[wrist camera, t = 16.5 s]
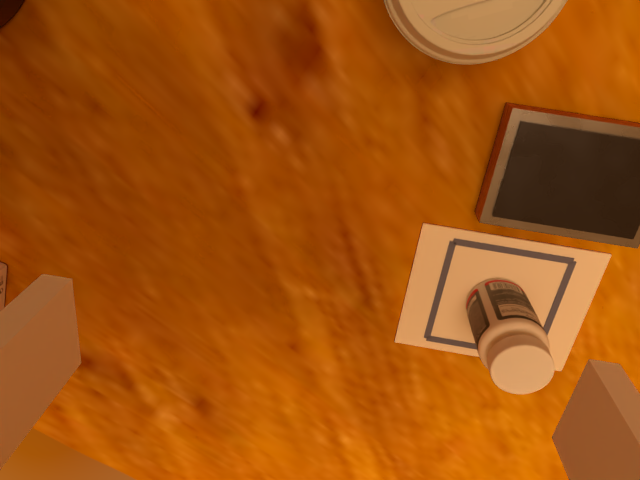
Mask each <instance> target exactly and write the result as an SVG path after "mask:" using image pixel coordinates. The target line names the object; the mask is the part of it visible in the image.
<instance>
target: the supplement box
mask: <svg viewBox="0 0 640 480" xmlns="http://www.w3.org/2000/svg"><path fill="white" fill-rule="evenodd" d="M6 275H7V265H6V264H4V263H1V262H0V311H1V310H2V309H4V304H5V289H6Z"/></svg>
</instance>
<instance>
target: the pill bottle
mask: <svg viewBox="0 0 640 480" xmlns="http://www.w3.org/2000/svg"><path fill="white" fill-rule="evenodd" d="M466 312H467V316H468V320H469V323H470V327H471V330H472V334H473V337H474V341H475V344H476V347H477V351H478V354H479V357H480V359H481V361H482V363H483V364H484V366H485V367H486V368H487V369H488V370H489V372H490V375H491V378H492V380H493V382H494V383H495V384H496V385H497V386H498V387H499V388H500V389H502V390H504V391H506V392H509V393H512V394H528V393H532V392H535V391H538V390H540V389H541V388H543V387H544V386H546V385H547V384H548V383H549V381H550V380H551V379H552V377H553V374H554V370H555V366H554V361H553V359H552V356H551V354H550V351H549V350H550V345H549V340H548V337H547V334H546V332H545V330H544V328H543V326H542V325H541V323H540V321H539V319H538V317H537V315H536V313H535V311H534V309H533V307H532V305H531V303H530V301H529V299H528V297H527V295H526V294H525V292H524V291H523V289H522V288H521V287H520V286H519V285H517V284H516V283H514V282H512V281H510V280H506V279H491V280H488V281H485V282H482V283H480V284H479V285H477V286H476V287H475V288H474V289H473V290H472V291H471V292H470V294H469V295H468V297H467V300H466Z"/></svg>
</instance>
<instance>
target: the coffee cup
mask: <svg viewBox="0 0 640 480" xmlns="http://www.w3.org/2000/svg"><path fill="white" fill-rule="evenodd" d="M566 2H567V0H384V3H385V6H386V8H387V11H388V13H389V15H390V17H391V19H392V21H393V23H394V24H395V26H396V27H397V29H398V30H399V31H400V33H401V34H402V35H403V36H404V37H405V38H406V39H407V40H408V41H409V42H410V43H411V44H412V45H413V46H414V47H416V48H417V49H418V50H420V51H421V52H423V53H425V54H426V55H428V56H430V57H433V58H435V59H438V60H441V61H444V62H448V63H454V64H480V63H486V62H490V61H494V60H497V59H500V58H502V57H505V56H507V55H509V54H512V53H514V52H515V51H517V50H519V49H521V48H522V47H524V46H526V45H527V44H529V43H530V42H531V41H533V40H534V39H535V38H536V37H538V36H539V35H540V34H541V33H542V32H543V31H544V30H545V29H546V28H547V27H548V26H549V25H550V24H551V23H552V22H553V20H554V19H555V18H556V17H557V15H558V14H559V12H560V11H561V10H562V8H563V7H564V5H565V3H566Z"/></svg>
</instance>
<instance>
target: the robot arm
mask: <svg viewBox="0 0 640 480" xmlns="http://www.w3.org/2000/svg"><path fill="white" fill-rule="evenodd" d="M22 2H23V0H0V27H1V26H3V25H4V24H5V23H6V22H7V21H8V20H10V19H11V17H12V16H13V15H14V14H15V13H16V11H17V10H18V9H19V7H20V6H21V4H22ZM80 364H81V356H80V347H79V338H78V329H77V319H76V310H75V301H74V292H73V283H72V279H71V278H65V277H59V276H52V275H46V274H42V275H41V276H40V277H38V278H37V279H36V280H35V281H34V282H33V283H32V284H31V285H29V286H28V287H27V288H26V289H25V290H24V291H23V292H22V293H20V294H19V295H18V296H17V297H16V298H15V299H14V300H13V301H11V302H10V303H9V304H8V305H7V306H6V307H5V308H4V309H2V310H1V311H0V470H1V468H2V467H3V465H4V464H5V463H6V462H7V460H8V459H9V457H10V456H11V455H12V454H13V452H14V451H15V450H16V448H17V447H18V446H19V444H20V443H21V442H22V440H23V439H24V438H25V437H26V435H27V433H29V431H30V429H31V428H32V427H33V426H34V425H35V423H36V422H37V421H38V419H39V418H40V417H41V415H42V414H43V413H44V411H45V410H46V409H47V407H48V406H49V405H50V403H51V402H52V401H53V399H54V398H55V397H56V395H57V394H58V393H59V392H60V390H61V389H62V388H63V386H64V385H65V384H66V382H67V381H68V380H69V378H70V377H71V376H72V374H73V373H74V372H75V370H76V369H77V368H78V366H79V365H80ZM552 439H553V441H554V444H555V446H556V449H557V451H558V454H559V456H560V459H561V461H562V463H563V466H564V468H565V471H566V473H567V476H568V478H569V480H640V394H639V392H638V391H637V389H636V388H635V386H634V385H633V383H632V382H631V380H630V379H629V377H628V376H627V374H626V373H625V371H624V370H623V368H622V367H621V365H620V364H617V363H610V362H604V361H597V360H591V359H589V360H588V362H587V364H586V366H585V369H584V371H583V373H582V375H581V377H580V379H579V381H578V383H577V385H576V387H575V390H574V392H573V394H572V396H571V398H570V400H569V402H568V404H567V406H566V409H565V411H564V413H563V415H562V417H561V419H560V421H559V423H558V425H557V427H556V430H555V432H554V434H553V436H552Z"/></svg>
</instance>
